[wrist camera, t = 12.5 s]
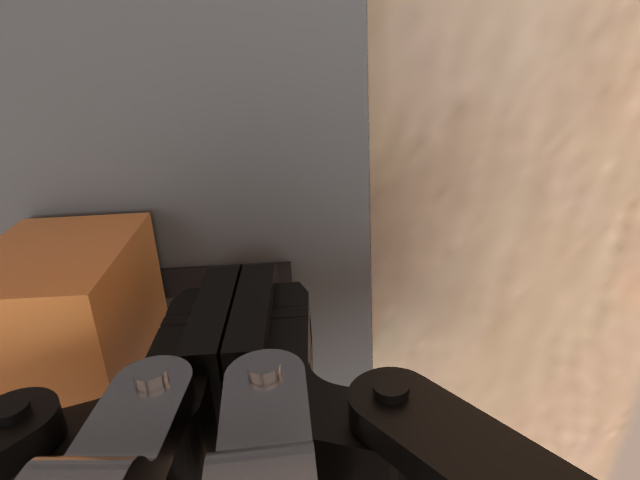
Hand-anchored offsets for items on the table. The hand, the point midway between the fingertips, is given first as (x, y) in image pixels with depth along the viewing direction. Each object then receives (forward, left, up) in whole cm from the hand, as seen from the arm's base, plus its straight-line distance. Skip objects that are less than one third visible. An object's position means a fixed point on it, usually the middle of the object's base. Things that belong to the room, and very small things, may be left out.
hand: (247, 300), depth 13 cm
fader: (0, -4, -1) cm, 4 cm away
